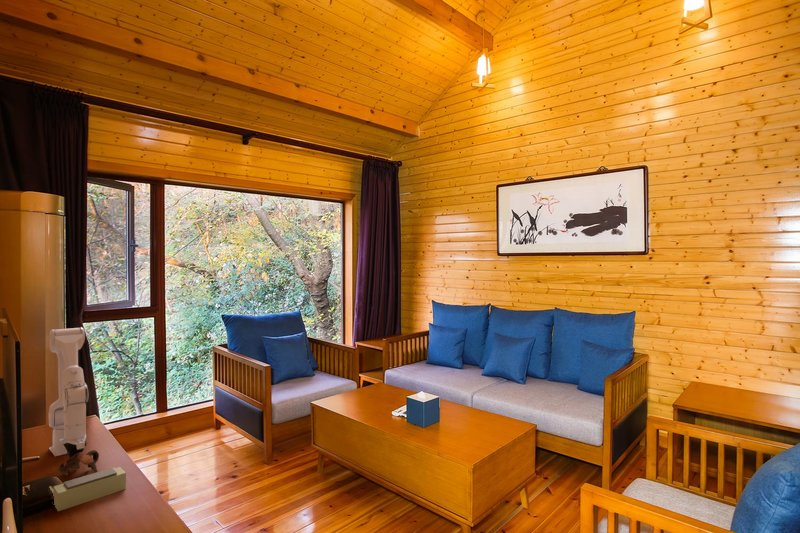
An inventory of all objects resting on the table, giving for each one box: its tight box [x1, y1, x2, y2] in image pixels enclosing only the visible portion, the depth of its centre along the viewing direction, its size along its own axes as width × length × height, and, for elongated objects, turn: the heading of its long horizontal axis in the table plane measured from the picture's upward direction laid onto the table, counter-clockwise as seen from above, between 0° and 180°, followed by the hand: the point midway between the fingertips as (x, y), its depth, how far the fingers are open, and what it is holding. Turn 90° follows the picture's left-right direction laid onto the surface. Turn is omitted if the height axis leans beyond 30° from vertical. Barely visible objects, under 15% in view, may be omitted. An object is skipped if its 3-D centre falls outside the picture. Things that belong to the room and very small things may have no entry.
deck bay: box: [48, 466, 127, 512], centre depth 133 cm, size 11×17×6 cm, turn 139°
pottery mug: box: [57, 449, 100, 477], centre depth 144 cm, size 12×9×8 cm
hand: (74, 464), depth 147 cm, fingers closed
